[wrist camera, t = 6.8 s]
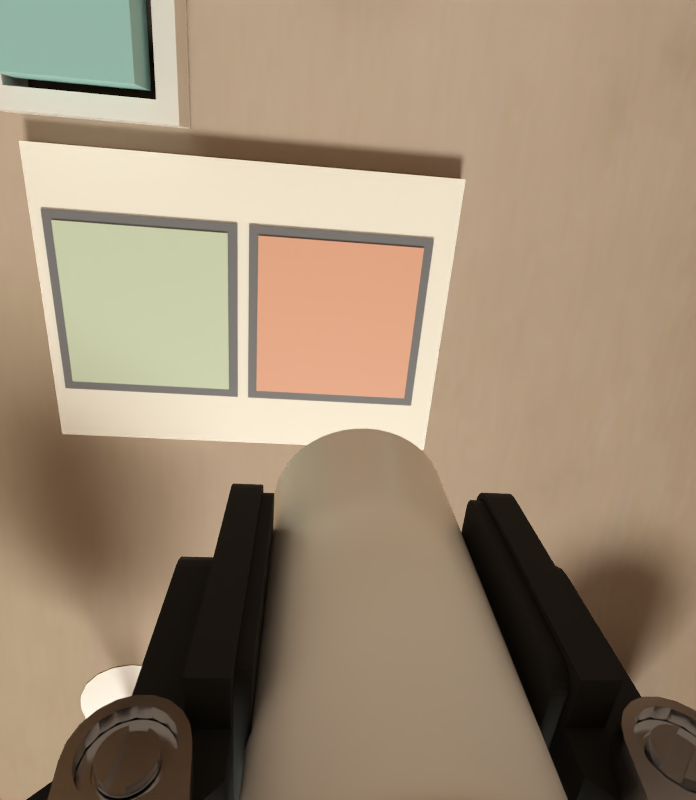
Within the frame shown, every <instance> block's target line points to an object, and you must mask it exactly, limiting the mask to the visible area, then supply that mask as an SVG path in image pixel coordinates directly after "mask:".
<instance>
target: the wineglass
mask: <svg viewBox="0 0 696 800" xmlns="http://www.w3.org/2000/svg"><path fill="white" fill-rule="evenodd" d="M141 667H142V666H135V665H130V666H123V667H117V668H112V669H110V670H107V671H105V672H103V673H100V674H98V675H97V676H96V677H94V678H93V679H92V680H91V681H90V682H89V683H87V684H86V686H85V688H84V691H83V693H82V695H81V709H82V711H83V713H84V715H85V717H86V719H87V718H88V717H89V716H90V715H92V714H93V713H94V712H95V711H96V710H98V709H100V708H101V707H103V706H105V705H107V704H109V703H111V702H113V701H115V700H118V699H122V698H126V697H130V696H132V693H133V691H134V688H135V685H136V682H137V679H138V676H139V673H140V670H141Z"/></svg>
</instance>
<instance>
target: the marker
mask: <svg viewBox="0 0 696 800" xmlns="http://www.w3.org/2000/svg"><path fill="white" fill-rule="evenodd" d="M239 800H568V799H567V796H566V794H565V791H564V789H563V786H562V784H561V781H560V779H559V776H558V774H557V771H556V769H555V766H554V764H553V761H552V759H551V756H550V754H549V751H548V749H547V746H546V744H545V741H544V739H543V736H542V734H541V731H540V729H539V726H538V724H537V721H536V719H535V716H534V714H533V711H532V709H531V706H530V704H529V701H528V699H527V696H526V694H525V691H524V689H523V686H522V684H521V681H520V679H519V676H518V674H517V671H516V669H515V666H514V664H513V661H512V658H511V656H510V653H509V651H508V648H507V646H506V643H505V641H504V638H503V636H502V633H501V631H500V628H499V626H498V623H497V621H496V618H495V616H494V613H493V611H492V608H491V606H490V603H489V601H488V598H487V596H486V593H485V591H484V588H483V586H482V583H481V581H480V578H479V576H478V573H477V571H476V568H475V566H474V563H473V561H472V558H471V556H470V553H469V551H468V548H467V546H466V543H465V541H464V538H463V536H462V533H461V531H460V528H459V526H458V523H457V521H456V518H455V516H454V513H453V511H452V508H451V506H450V503H449V501H448V498H447V496H446V493H445V491H444V488H443V486H442V483H441V481H440V478H439V476H438V473H437V471H436V469H435V467H434V465H433V464H432V462H431V461H430V459H429V458H428V457H427V456H426V454H425V453H424V452H423V451H422V450H420V449H419V448H418V447H417V446H416V445H414V444H413V443H411V442H410V441H408V440H406V439H404V438H402V437H401V436H398V435H395V434H393V433H390V432H386V431H382V430H376V429H367V428H366V429H348V430H342V431H338V432H334V433H331V434H328V435H326V436H323V437H321V438H319V439H317V440H315V441H313V442H311V443H310V444H308V445H307V446H305V447H304V448H302V449H301V450H300V451H299V452H298V453H297V454H296V455H295V456H294V457H293V458H292V459H291V460H290V461H289V463H288V464H287V465H286V467H285V469H284V470H283V472H282V474H281V476H280V478H279V480H278V483H277V487H276V490H275V498H274V524H273V538H272V547H271V556H270V565H269V574H268V583H267V592H266V601H265V610H264V619H263V629H262V638H261V647H260V656H259V665H258V674H257V683H256V692H255V701H254V710H253V720H252V729H251V734H250V736H249V738H248V742H247V745H246V748H245V753H244V762H243V770H242V779H241V787H240V796H239Z"/></svg>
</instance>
